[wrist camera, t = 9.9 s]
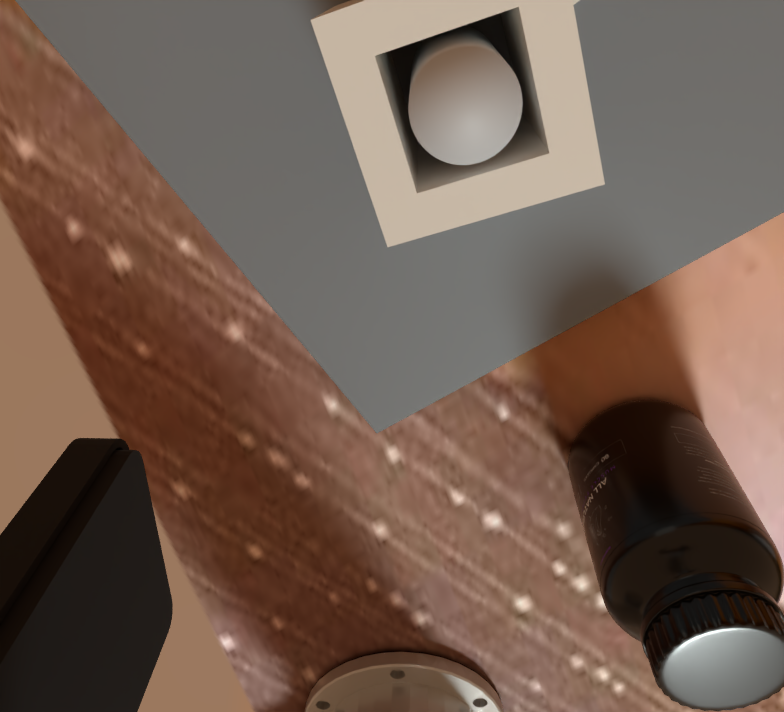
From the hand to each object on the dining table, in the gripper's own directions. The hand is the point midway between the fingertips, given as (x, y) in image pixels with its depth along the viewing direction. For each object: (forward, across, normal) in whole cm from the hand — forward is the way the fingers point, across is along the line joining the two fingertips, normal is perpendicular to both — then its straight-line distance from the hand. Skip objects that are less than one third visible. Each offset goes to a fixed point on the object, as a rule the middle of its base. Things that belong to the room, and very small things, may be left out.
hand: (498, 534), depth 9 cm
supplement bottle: (+22, -10, +14) cm, 28 cm away
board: (+21, 0, -4) cm, 21 cm away
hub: (+19, +1, -6) cm, 20 cm away
